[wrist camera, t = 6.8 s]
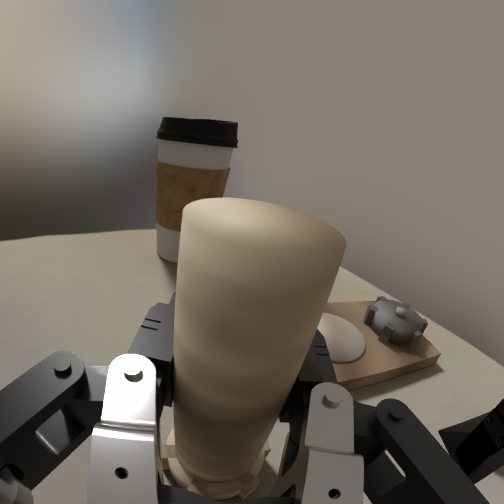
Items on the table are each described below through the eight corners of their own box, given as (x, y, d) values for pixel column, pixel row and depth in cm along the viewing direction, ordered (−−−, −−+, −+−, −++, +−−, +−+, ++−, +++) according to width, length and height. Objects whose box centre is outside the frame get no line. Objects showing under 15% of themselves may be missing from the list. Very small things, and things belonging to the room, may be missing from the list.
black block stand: (501, 402, 15) (528, 365, 13) (531, 453, 9) (565, 417, 7) (416, 431, 14) (454, 387, 12) (449, 512, 7) (503, 476, 5)
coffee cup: (234, 260, 32) (259, 125, 27) (171, 277, 26) (191, 112, 20) (190, 234, 37) (207, 119, 31) (133, 244, 31) (145, 112, 25)
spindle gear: (167, 504, 8) (134, 263, 3) (158, 425, 12) (156, 186, 7) (274, 493, 10) (418, 275, 5) (249, 422, 14) (317, 205, 9)
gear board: (202, 409, 14) (206, 372, 13) (188, 314, 22) (191, 278, 20) (434, 363, 20) (452, 335, 19) (383, 309, 28) (394, 283, 26)
